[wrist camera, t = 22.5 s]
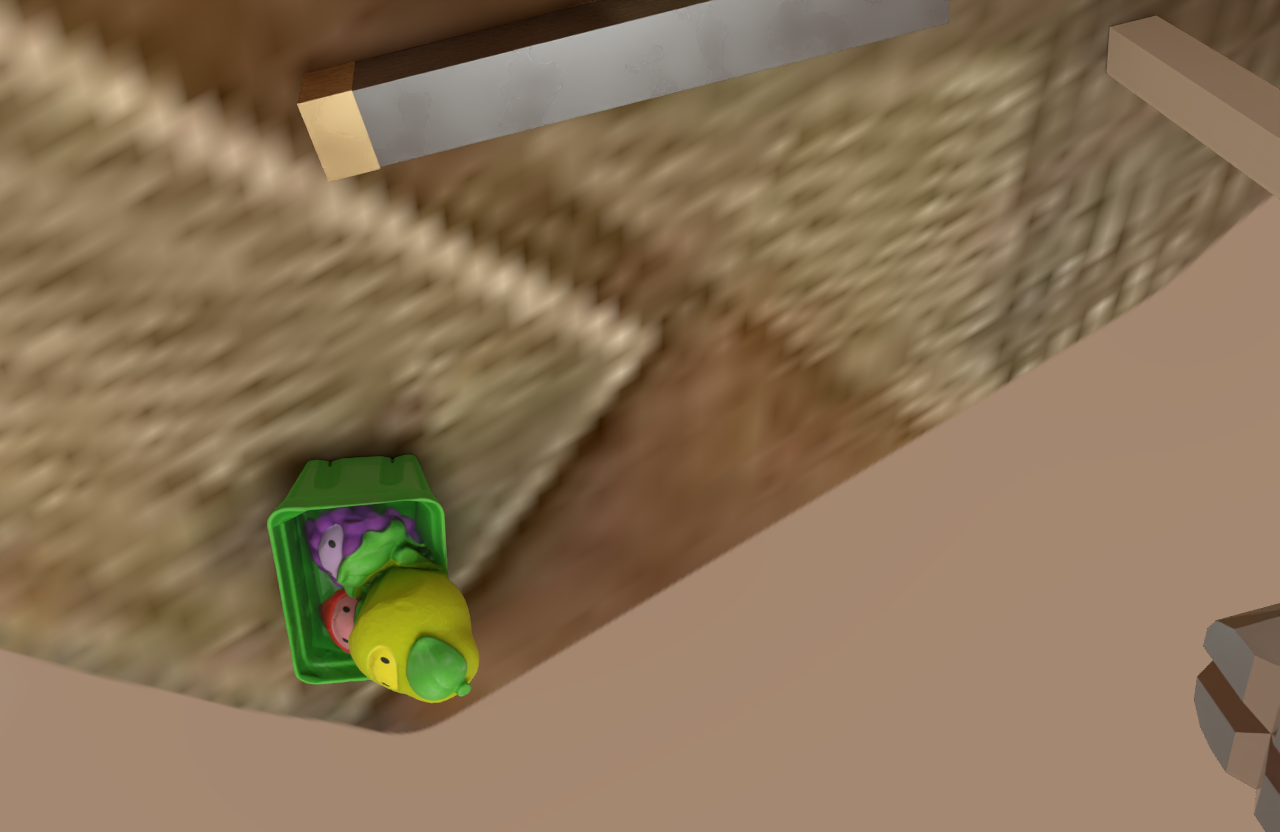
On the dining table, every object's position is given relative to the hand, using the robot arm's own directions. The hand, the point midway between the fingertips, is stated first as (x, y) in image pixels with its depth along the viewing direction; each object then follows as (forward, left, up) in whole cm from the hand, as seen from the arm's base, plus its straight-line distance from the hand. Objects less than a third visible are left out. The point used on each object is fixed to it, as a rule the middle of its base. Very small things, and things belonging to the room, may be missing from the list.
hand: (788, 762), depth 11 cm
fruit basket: (+27, -14, -37) cm, 48 cm away
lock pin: (+6, +3, -37) cm, 38 cm away
